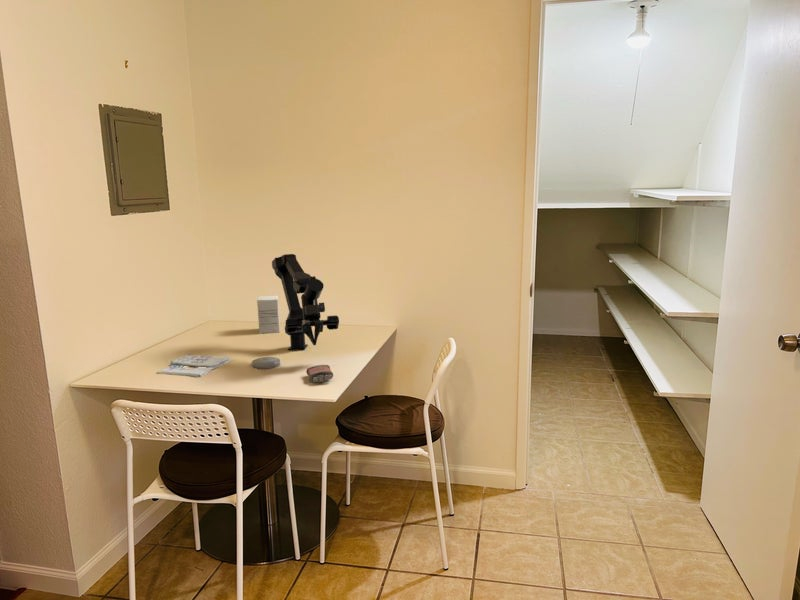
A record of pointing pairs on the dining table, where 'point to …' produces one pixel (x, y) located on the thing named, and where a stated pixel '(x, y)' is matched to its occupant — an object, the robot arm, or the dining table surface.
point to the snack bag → (196, 361)
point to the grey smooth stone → (266, 363)
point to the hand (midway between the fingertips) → (314, 344)
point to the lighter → (319, 373)
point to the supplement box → (268, 314)
